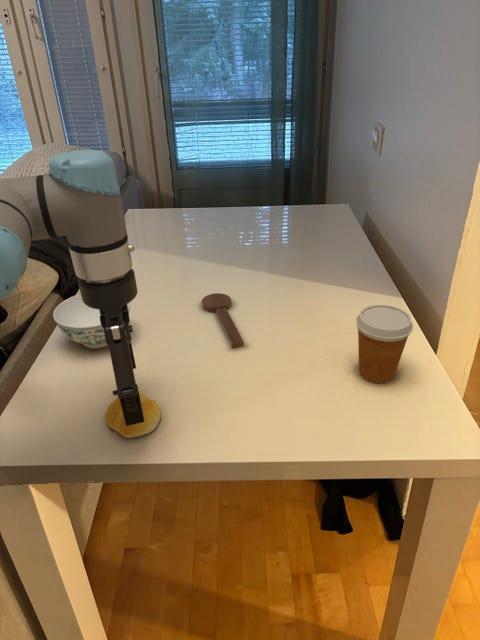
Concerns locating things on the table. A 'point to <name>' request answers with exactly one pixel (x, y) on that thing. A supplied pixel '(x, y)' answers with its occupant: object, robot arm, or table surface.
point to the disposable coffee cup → (381, 341)
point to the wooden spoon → (223, 316)
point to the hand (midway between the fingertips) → (131, 393)
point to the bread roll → (118, 423)
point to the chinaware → (81, 322)
